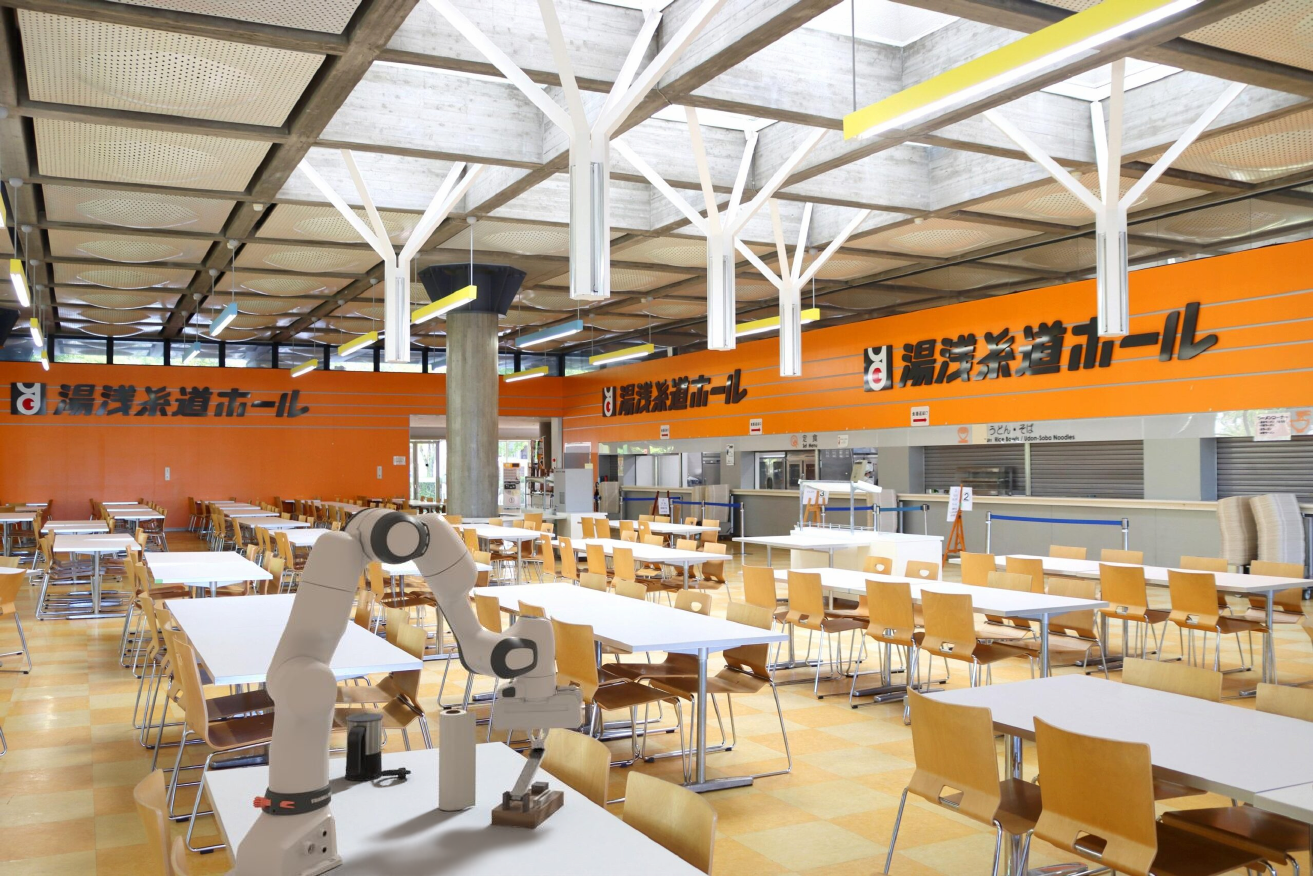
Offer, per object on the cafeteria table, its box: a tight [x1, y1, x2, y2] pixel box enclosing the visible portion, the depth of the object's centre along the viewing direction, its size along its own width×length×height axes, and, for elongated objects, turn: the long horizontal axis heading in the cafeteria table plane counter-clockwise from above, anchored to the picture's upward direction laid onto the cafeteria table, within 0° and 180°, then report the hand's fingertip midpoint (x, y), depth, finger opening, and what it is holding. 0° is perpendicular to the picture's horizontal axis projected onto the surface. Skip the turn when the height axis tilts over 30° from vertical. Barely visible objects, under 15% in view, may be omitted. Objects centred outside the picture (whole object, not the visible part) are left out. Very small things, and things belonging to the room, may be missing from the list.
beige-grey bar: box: [508, 748, 547, 802], centre depth 224 cm, size 16×3×2 cm, turn 165°
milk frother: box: [344, 713, 412, 781], centre depth 254 cm, size 14×16×15 cm
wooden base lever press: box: [490, 780, 565, 829], centre depth 224 cm, size 17×10×6 cm, turn 164°
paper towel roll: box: [438, 709, 477, 812], centre depth 229 cm, size 7×6×21 cm
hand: (538, 748), depth 230 cm, fingers closed, pressing on beige-grey bar
